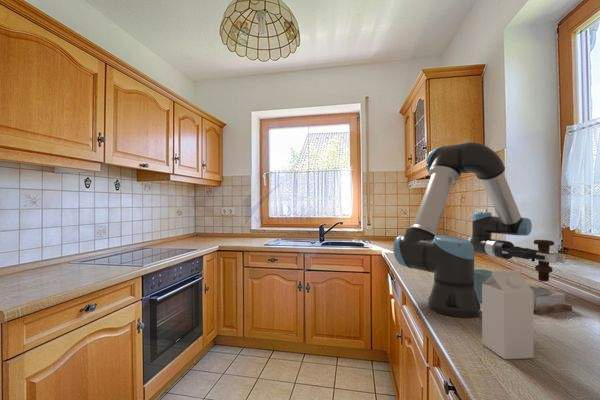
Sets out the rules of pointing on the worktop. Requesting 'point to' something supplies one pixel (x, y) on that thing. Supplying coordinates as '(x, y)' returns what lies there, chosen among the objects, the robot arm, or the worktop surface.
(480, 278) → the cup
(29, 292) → the worktop surface
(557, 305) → the hinge base
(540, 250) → the bolt
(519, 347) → the milk carton
